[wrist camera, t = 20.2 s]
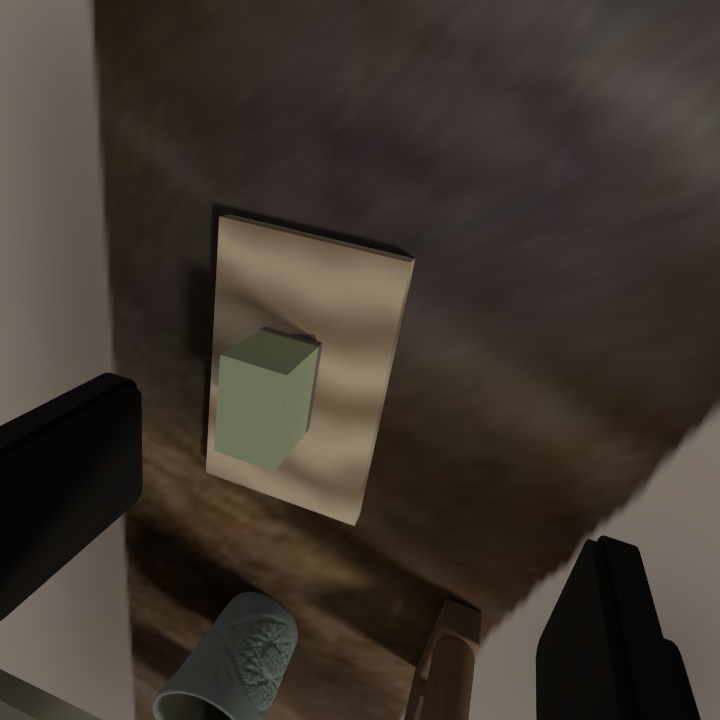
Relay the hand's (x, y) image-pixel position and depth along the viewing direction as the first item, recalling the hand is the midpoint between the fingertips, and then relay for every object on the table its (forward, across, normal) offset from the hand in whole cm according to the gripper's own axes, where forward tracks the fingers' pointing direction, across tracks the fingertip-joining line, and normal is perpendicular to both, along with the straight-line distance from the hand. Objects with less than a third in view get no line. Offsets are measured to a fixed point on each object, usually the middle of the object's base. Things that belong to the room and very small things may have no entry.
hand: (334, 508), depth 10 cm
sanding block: (+27, +12, +13) cm, 32 cm away
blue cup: (+28, +12, +44) cm, 54 cm away
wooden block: (+28, -7, +36) cm, 46 cm away
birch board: (+28, +12, +13) cm, 33 cm away
